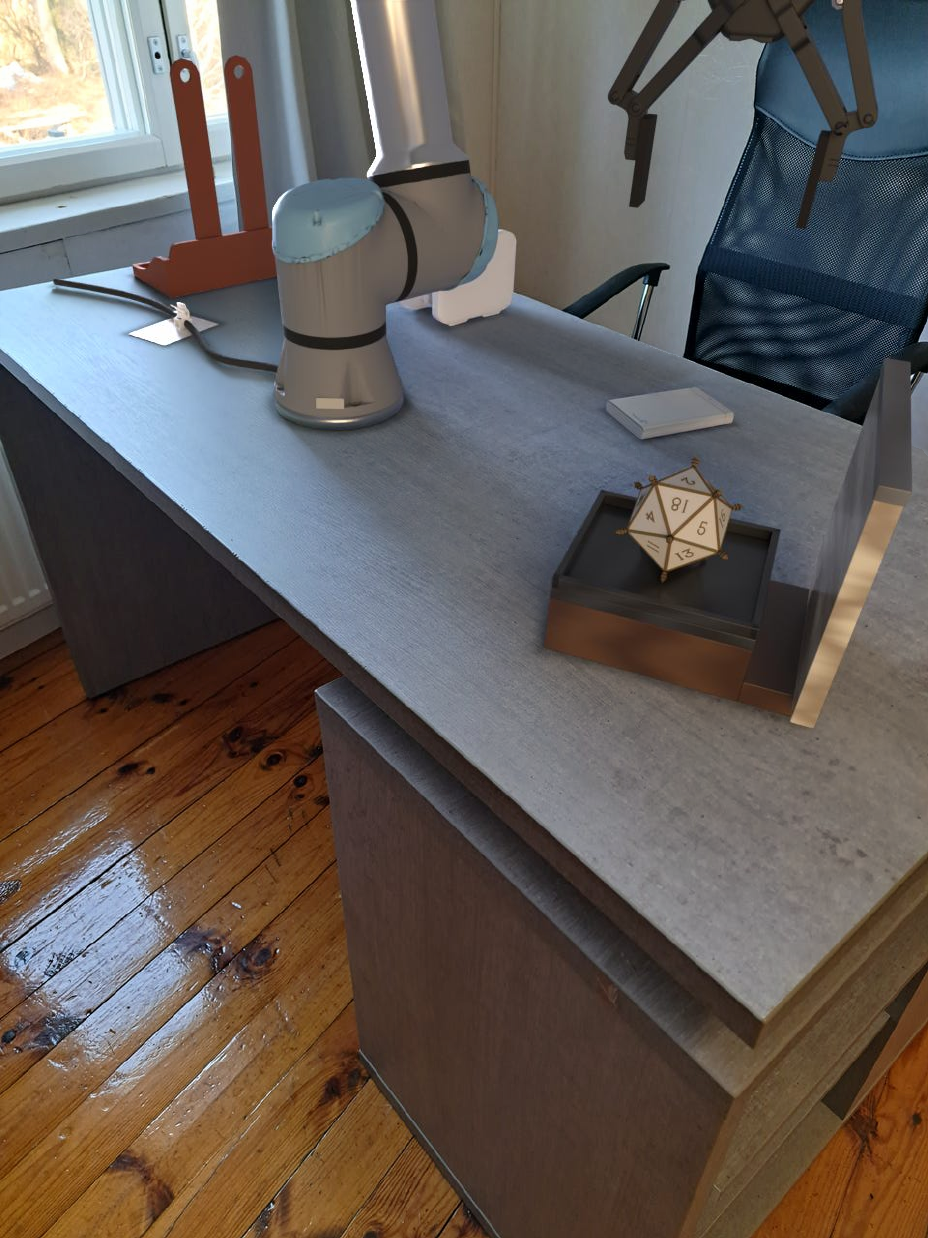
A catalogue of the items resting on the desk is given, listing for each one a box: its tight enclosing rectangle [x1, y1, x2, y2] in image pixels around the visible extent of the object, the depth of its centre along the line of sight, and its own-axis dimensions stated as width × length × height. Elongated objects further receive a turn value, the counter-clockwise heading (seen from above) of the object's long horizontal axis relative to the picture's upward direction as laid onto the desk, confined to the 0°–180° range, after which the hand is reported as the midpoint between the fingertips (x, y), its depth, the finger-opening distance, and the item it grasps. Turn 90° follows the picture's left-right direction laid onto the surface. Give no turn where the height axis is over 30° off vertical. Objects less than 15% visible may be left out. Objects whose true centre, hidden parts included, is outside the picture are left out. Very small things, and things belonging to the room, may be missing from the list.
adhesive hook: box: [169, 301, 193, 331], centre depth 119 cm, size 3×3×3 cm
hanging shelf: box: [131, 54, 277, 299], centre depth 130 cm, size 24×13×30 cm, turn 130°
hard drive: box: [605, 386, 735, 440], centre depth 101 cm, size 2×8×12 cm
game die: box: [616, 455, 744, 582], centre depth 65 cm, size 9×8×10 cm
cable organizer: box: [395, 229, 517, 327], centre depth 125 cm, size 15×11×12 cm
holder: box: [543, 357, 913, 729], centre depth 64 cm, size 20×20×21 cm
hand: (717, 214), depth 71 cm, fingers open, 13 cm apart
